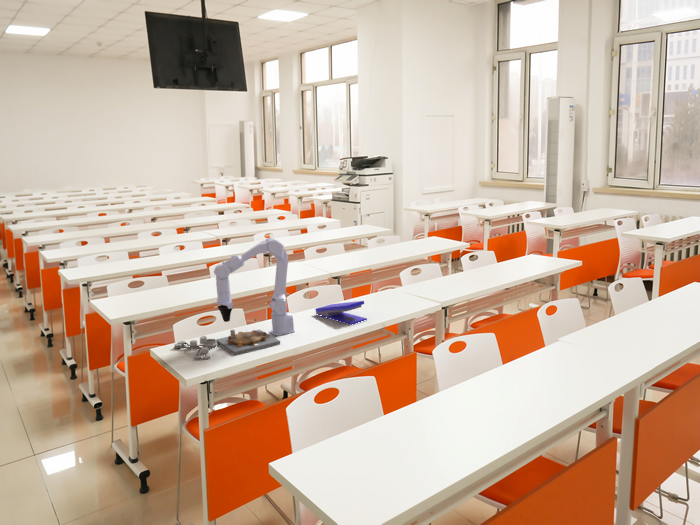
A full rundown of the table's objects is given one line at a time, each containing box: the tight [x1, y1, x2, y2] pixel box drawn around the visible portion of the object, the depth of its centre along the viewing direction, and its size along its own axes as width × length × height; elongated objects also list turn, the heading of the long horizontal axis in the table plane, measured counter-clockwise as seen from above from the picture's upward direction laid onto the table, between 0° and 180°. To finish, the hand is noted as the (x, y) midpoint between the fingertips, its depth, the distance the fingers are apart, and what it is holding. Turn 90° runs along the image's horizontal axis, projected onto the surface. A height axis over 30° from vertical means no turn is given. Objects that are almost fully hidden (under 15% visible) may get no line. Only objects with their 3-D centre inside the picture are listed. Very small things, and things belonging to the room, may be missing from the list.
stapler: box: [314, 300, 368, 326], centre depth 279 cm, size 12×28×10 cm, turn 41°
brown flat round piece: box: [227, 329, 267, 346], centre depth 247 cm, size 17×17×5 cm
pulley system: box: [174, 335, 218, 361], centre depth 242 cm, size 27×5×15 cm
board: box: [215, 329, 281, 356], centre depth 247 cm, size 21×22×2 cm
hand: (226, 321), depth 250 cm, fingers closed
